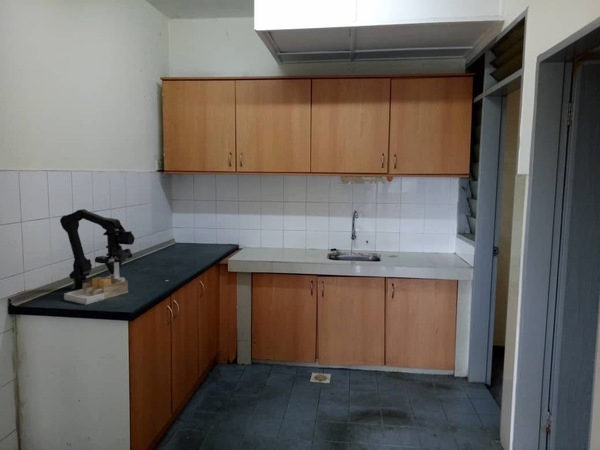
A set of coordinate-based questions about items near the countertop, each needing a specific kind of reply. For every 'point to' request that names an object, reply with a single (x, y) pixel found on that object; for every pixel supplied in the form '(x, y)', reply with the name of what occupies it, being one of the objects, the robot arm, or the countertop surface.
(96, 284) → the matte ochre cube
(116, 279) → the scraper
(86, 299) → the chip tray
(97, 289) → the slot block
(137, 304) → the countertop surface
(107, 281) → the tan cardboard cube
